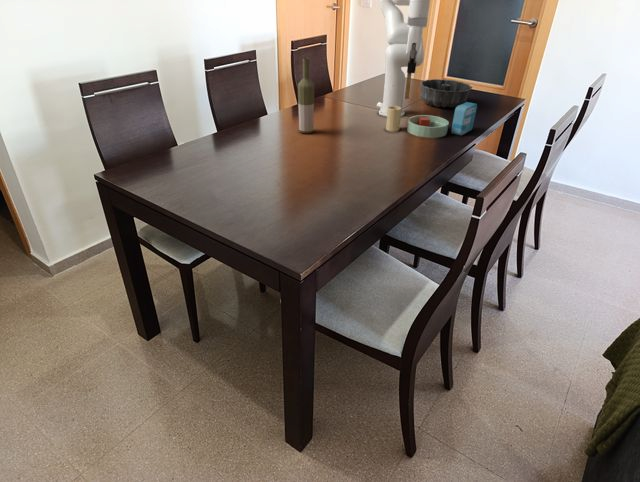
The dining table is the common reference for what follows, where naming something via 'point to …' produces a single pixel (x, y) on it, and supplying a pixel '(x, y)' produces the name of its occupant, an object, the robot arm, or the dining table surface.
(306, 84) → the bottle
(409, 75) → the stick
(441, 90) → the bundt pan
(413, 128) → the bowl
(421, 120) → the block
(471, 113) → the data package
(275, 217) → the dining table surface
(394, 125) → the crock
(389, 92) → the robot arm
